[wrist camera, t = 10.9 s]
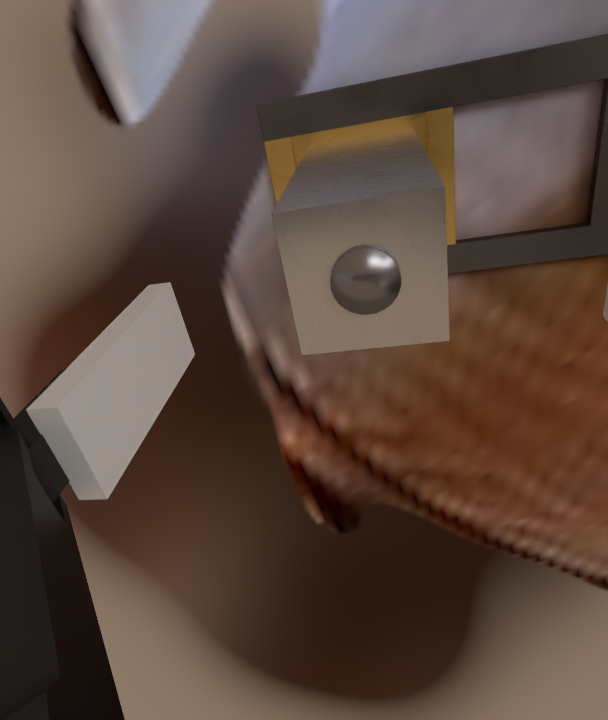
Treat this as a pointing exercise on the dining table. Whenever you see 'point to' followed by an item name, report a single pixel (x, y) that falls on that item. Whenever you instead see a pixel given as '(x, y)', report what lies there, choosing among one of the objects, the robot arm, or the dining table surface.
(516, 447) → the dining table surface
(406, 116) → the grey flat rectangular frame
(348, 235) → the grey rectangular block
